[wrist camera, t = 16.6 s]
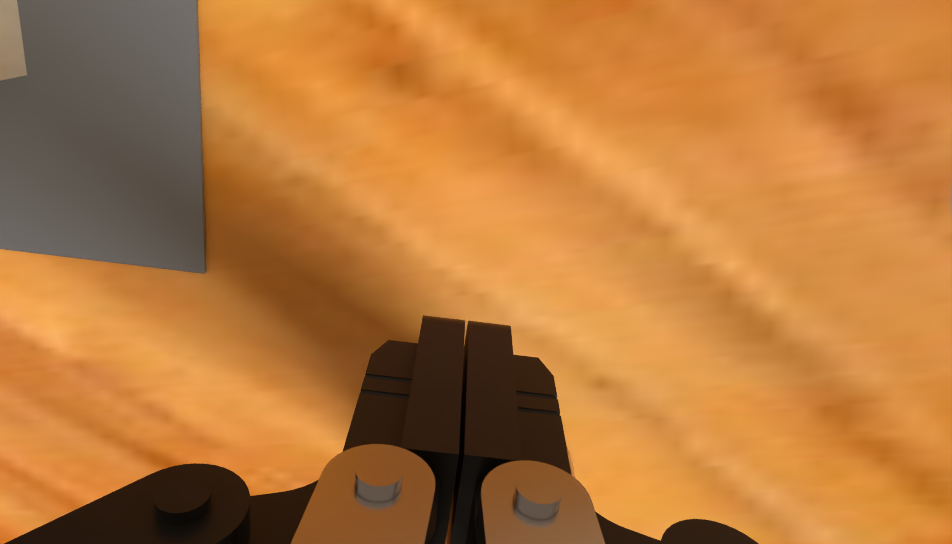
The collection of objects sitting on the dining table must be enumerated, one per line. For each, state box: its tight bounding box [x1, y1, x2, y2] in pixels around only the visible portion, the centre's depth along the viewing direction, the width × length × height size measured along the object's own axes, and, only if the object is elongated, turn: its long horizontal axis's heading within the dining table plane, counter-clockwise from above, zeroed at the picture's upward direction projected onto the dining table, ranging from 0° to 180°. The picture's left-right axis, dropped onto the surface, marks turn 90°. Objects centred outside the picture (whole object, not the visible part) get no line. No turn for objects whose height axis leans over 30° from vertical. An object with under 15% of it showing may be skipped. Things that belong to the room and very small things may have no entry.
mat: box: [0, 0, 206, 274], centre depth 38 cm, size 22×19×1 cm
